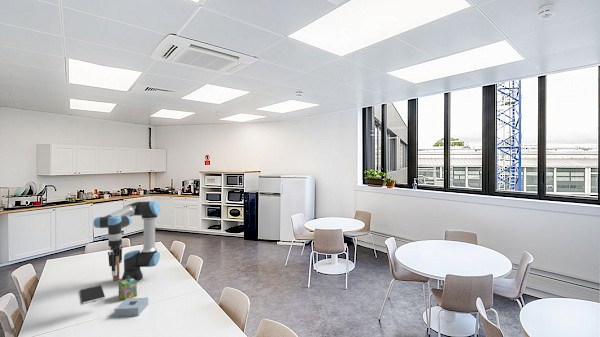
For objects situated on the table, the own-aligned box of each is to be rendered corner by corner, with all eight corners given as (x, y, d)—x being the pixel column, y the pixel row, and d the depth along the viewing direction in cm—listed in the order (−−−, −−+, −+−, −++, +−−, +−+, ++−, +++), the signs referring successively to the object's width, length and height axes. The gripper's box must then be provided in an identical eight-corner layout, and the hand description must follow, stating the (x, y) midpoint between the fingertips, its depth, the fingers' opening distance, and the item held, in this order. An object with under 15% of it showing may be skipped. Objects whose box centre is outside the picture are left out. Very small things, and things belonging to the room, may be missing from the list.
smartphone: (81, 305, 193) (81, 303, 193) (79, 291, 213) (79, 289, 213) (105, 299, 202) (105, 297, 201) (101, 286, 222) (101, 284, 222)
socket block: (126, 305, 191) (126, 298, 191) (148, 304, 192) (148, 297, 192) (115, 317, 177) (114, 309, 177) (138, 315, 178) (138, 307, 178)
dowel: (114, 279, 191) (114, 255, 190) (120, 278, 191) (119, 255, 191) (111, 281, 187) (111, 257, 187) (117, 281, 188) (116, 257, 187)
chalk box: (118, 297, 203) (117, 277, 203) (132, 292, 210) (131, 273, 210) (123, 301, 198) (122, 280, 197) (137, 296, 205) (137, 276, 205)
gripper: (116, 236, 196) (116, 269, 197) (101, 243, 180) (102, 279, 180) (127, 236, 197) (128, 269, 198) (114, 242, 180) (115, 279, 181)
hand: (116, 274), depth 189 cm, fingers closed on dowel, 3 cm apart
